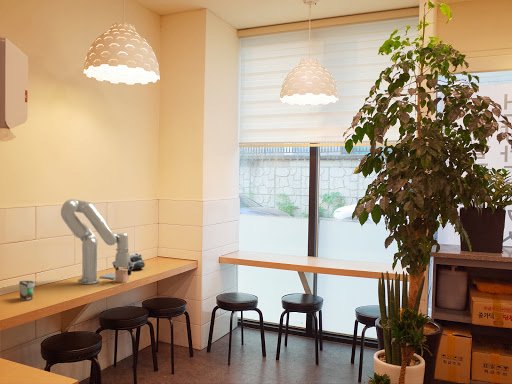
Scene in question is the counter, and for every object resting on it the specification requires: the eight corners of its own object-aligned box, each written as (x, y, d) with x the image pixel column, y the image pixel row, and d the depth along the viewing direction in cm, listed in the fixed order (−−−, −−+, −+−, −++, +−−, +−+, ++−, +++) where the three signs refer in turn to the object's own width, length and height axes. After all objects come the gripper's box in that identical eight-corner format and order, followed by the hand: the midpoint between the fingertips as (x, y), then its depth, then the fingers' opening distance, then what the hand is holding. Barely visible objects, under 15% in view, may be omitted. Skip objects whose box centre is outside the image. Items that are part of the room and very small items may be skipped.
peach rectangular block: (123, 282, 325) (123, 271, 325) (115, 281, 327) (115, 270, 327) (128, 280, 331) (128, 269, 331) (120, 279, 333) (120, 268, 333)
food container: (38, 299, 278) (38, 283, 277) (27, 301, 273) (27, 284, 273) (29, 295, 286) (29, 279, 286) (19, 297, 281) (19, 281, 281)
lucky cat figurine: (125, 271, 360) (121, 254, 364) (128, 274, 371) (124, 258, 375) (144, 265, 362) (140, 249, 367) (146, 268, 374) (142, 252, 378)
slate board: (114, 279, 333) (114, 277, 333) (99, 277, 337) (99, 276, 337) (123, 276, 345) (123, 274, 345) (110, 274, 349) (110, 273, 348)
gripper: (109, 251, 327) (109, 275, 328) (130, 252, 322) (130, 276, 323) (115, 249, 334) (116, 272, 335) (136, 250, 329) (137, 274, 330)
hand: (123, 274), depth 329 cm, fingers open, 9 cm apart
